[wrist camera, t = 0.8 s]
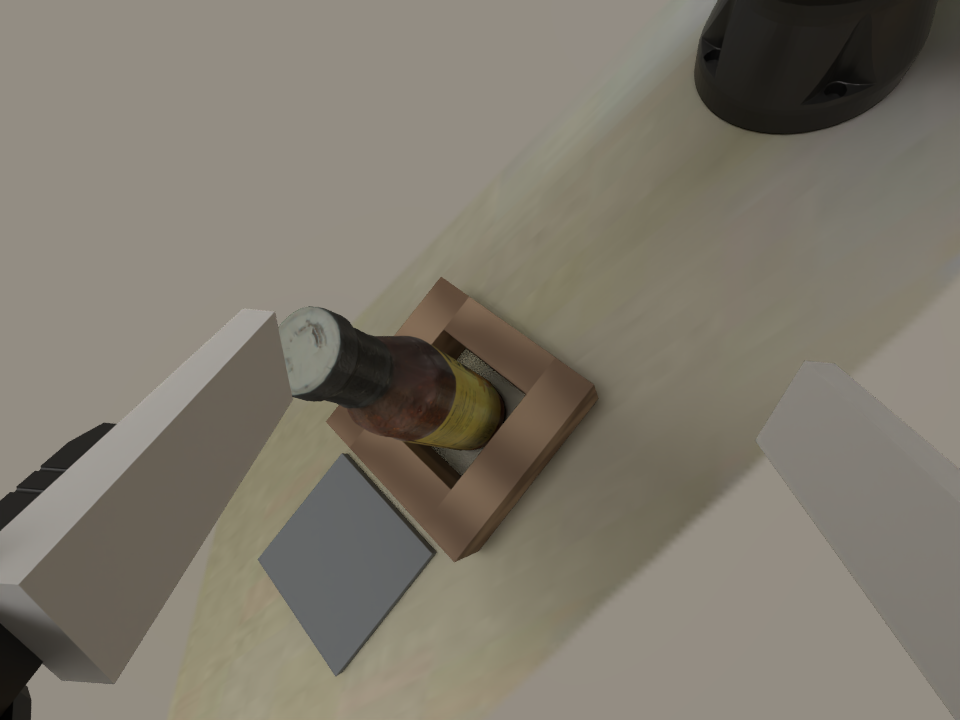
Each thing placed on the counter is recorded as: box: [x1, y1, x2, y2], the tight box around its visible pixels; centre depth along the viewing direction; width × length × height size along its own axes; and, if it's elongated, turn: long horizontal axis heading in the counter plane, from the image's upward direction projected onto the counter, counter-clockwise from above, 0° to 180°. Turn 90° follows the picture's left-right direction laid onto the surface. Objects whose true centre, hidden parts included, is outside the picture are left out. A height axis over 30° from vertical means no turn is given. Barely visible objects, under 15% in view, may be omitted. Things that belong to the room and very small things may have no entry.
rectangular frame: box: [326, 277, 598, 562], centre depth 34 cm, size 15×15×5 cm
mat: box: [258, 453, 436, 676], centre depth 36 cm, size 12×12×1 cm
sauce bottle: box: [278, 306, 505, 450], centre depth 27 cm, size 7×6×20 cm
